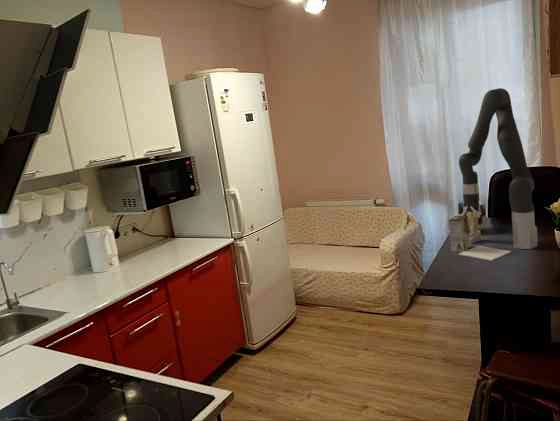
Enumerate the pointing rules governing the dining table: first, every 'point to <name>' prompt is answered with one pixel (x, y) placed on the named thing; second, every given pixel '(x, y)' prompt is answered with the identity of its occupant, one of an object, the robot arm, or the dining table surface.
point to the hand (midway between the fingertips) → (472, 223)
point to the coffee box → (459, 233)
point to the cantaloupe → (472, 214)
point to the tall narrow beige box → (474, 231)
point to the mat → (485, 253)
